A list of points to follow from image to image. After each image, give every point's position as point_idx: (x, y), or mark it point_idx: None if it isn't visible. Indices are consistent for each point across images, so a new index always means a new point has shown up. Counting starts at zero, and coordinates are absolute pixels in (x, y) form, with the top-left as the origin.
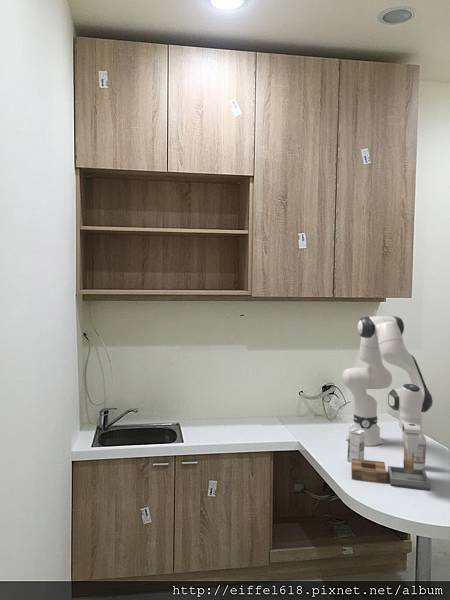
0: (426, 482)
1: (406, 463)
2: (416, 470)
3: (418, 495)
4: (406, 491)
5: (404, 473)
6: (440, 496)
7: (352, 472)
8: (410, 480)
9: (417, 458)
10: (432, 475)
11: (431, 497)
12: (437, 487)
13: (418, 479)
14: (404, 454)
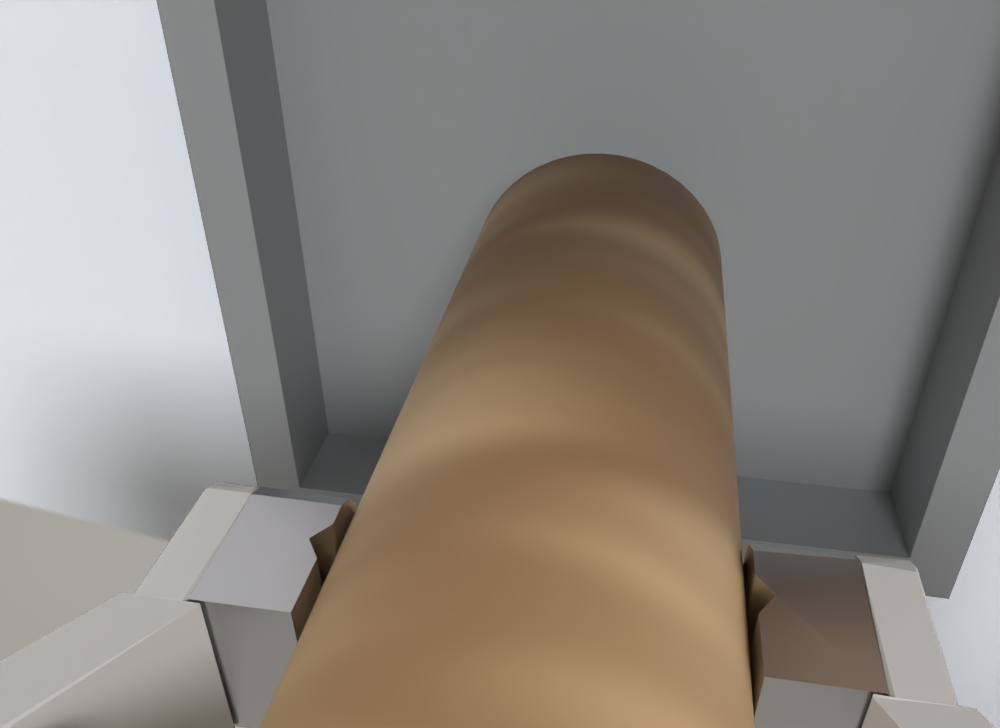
0: (266, 472)
1: (441, 335)
2: (934, 457)
3: (24, 238)
4: (77, 65)
5: (947, 179)
6: (164, 506)
7: None
8: (224, 223)
9: None
10: (991, 623)
11: (63, 397)
12: None
13: None
14: (455, 468)
